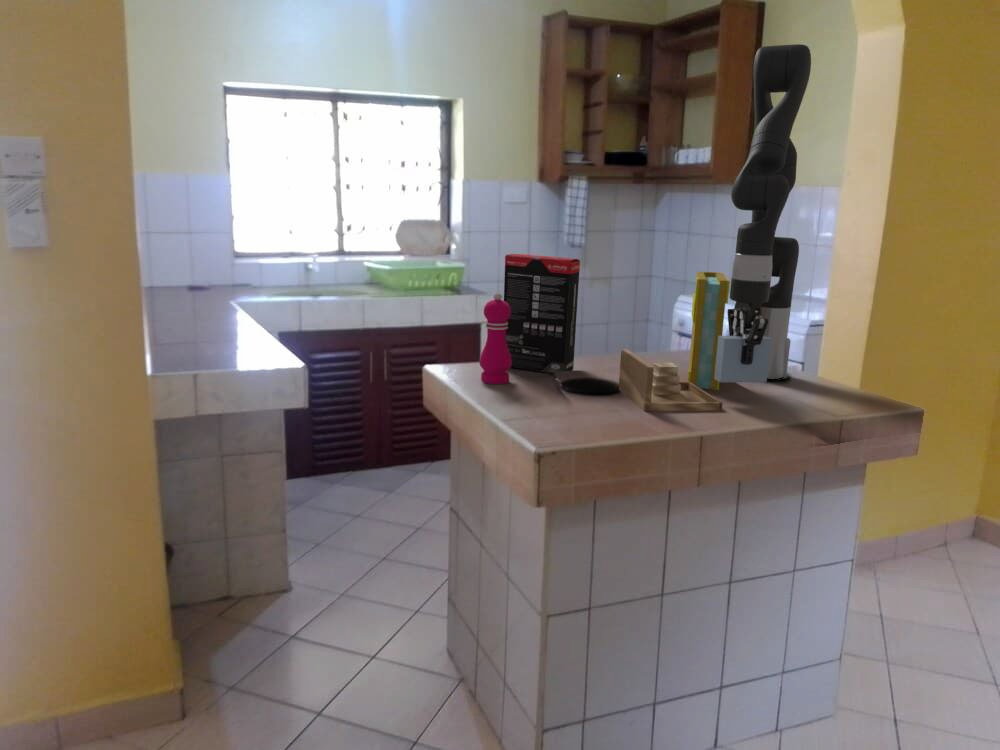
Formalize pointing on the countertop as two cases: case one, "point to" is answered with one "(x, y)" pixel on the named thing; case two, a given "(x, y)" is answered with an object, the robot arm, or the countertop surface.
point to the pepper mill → (496, 342)
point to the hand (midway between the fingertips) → (742, 361)
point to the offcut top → (665, 369)
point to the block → (731, 365)
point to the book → (707, 327)
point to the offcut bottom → (666, 389)
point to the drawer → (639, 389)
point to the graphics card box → (541, 311)
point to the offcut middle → (665, 380)
